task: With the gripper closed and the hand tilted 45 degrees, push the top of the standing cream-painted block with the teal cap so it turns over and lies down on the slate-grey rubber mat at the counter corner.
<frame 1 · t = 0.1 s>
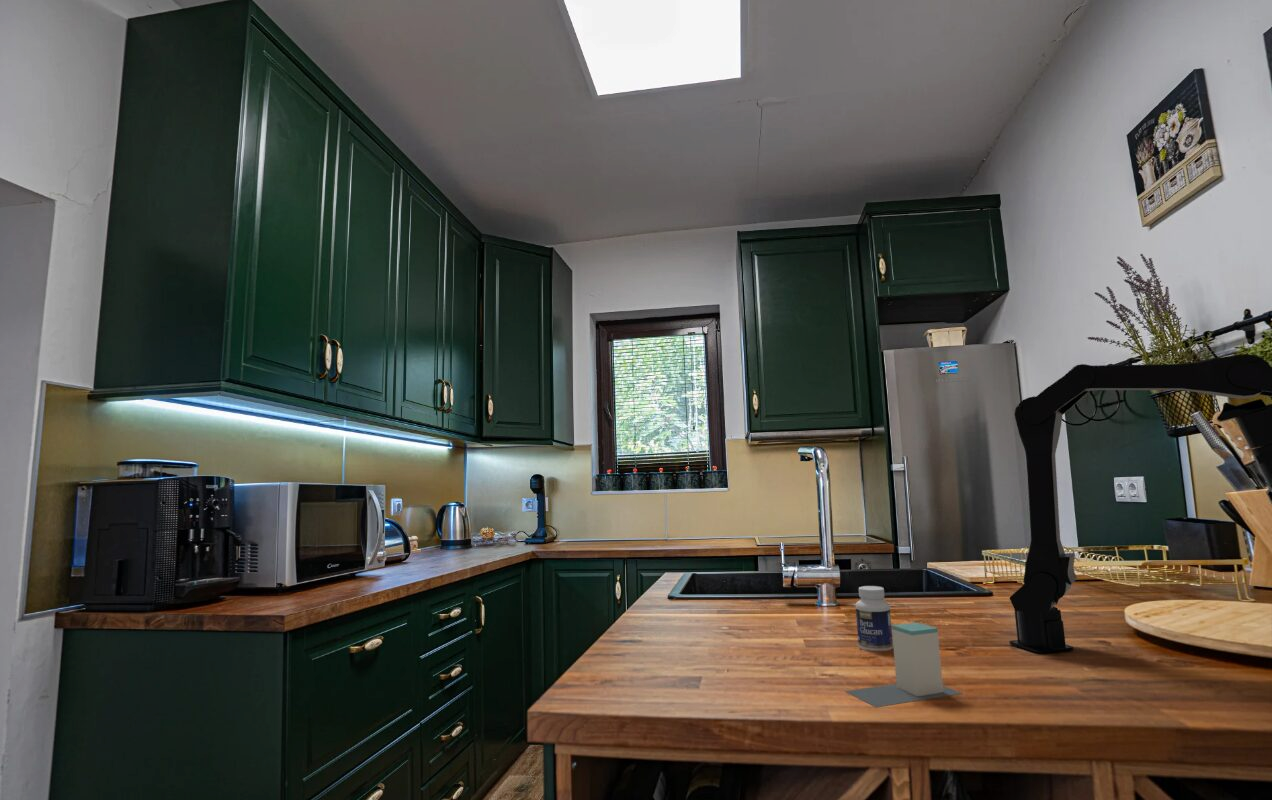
slate mat: (903, 694, 86), on the counter
pill bottle: (875, 649, 109), on the counter
cream block: (919, 689, 87), resting on slate mat
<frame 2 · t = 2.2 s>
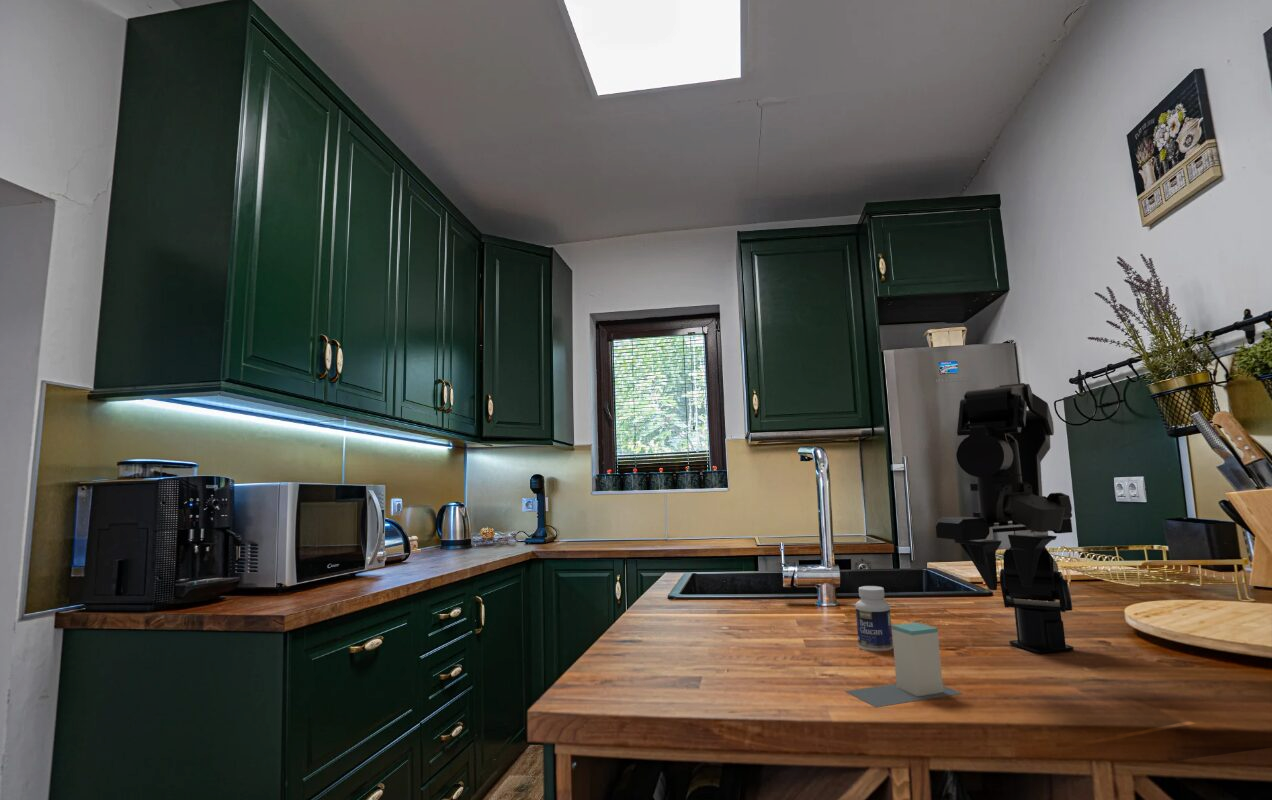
hand: (1010, 588, 93), 12 cm above the counter, tool pointing down, fingers open, 6 cm apart
nothing on the counter moved.
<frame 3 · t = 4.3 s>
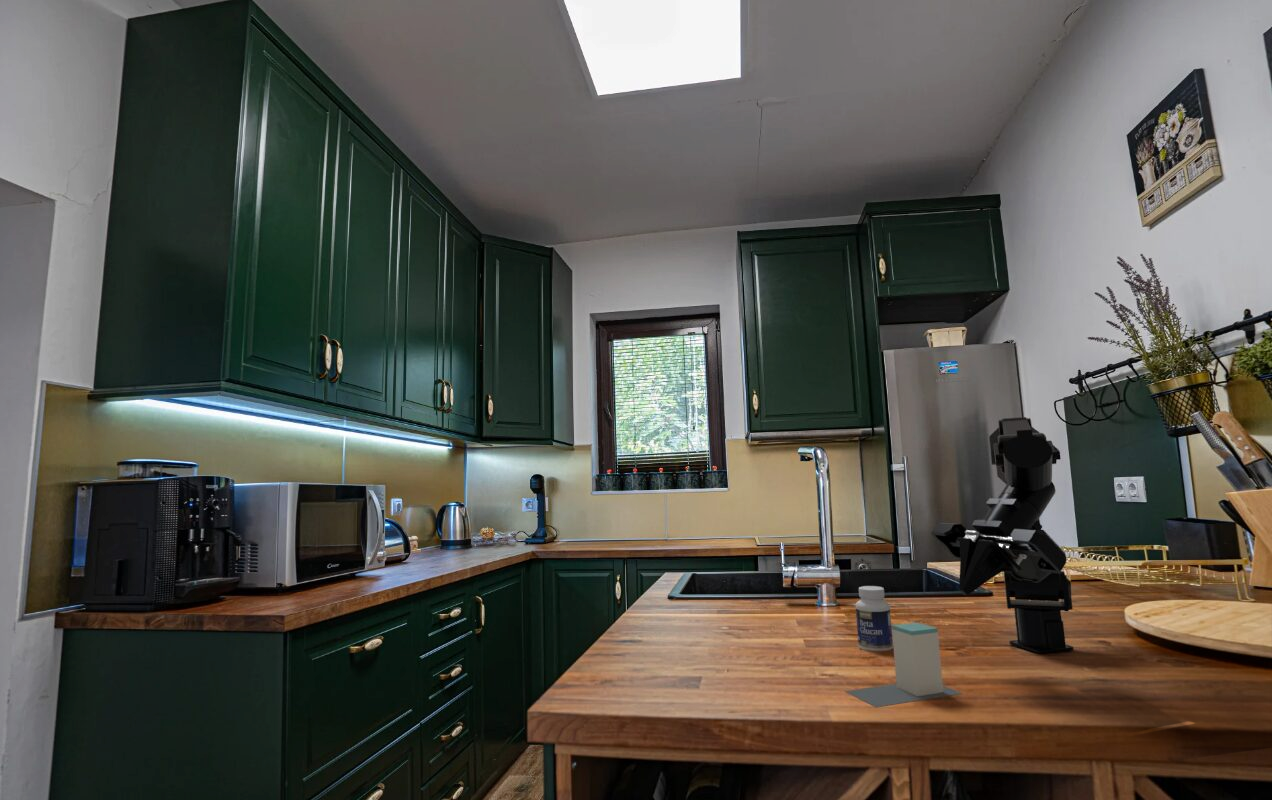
hand: (963, 592, 91), 12 cm above the counter, tool tilted 45°, fingers closed
nothing on the counter moved.
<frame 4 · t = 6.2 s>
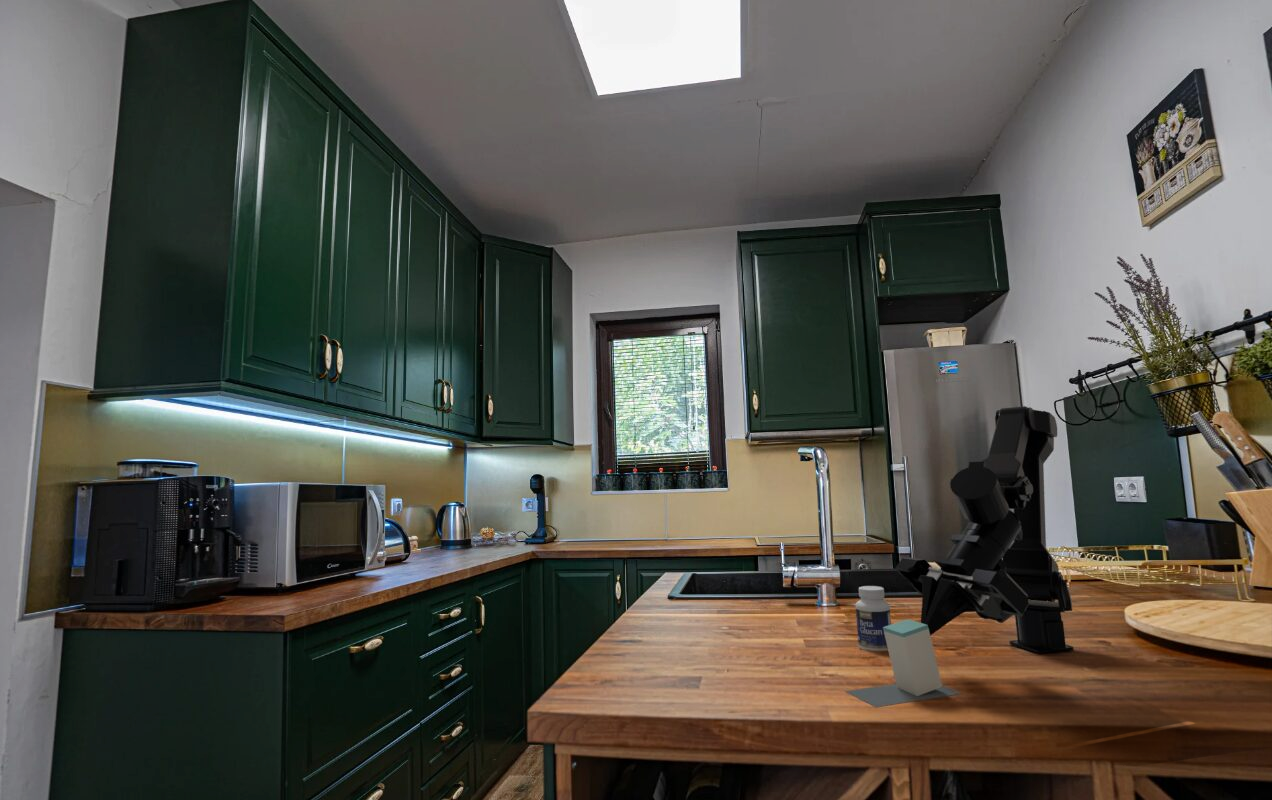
hand: (924, 633, 88), 7 cm above the counter, tool tilted 45°, fingers closed
cream block: (919, 686, 87), point 1 cm above the counter, tilted 10°, touching gripper, slate mat
everything else where it was.
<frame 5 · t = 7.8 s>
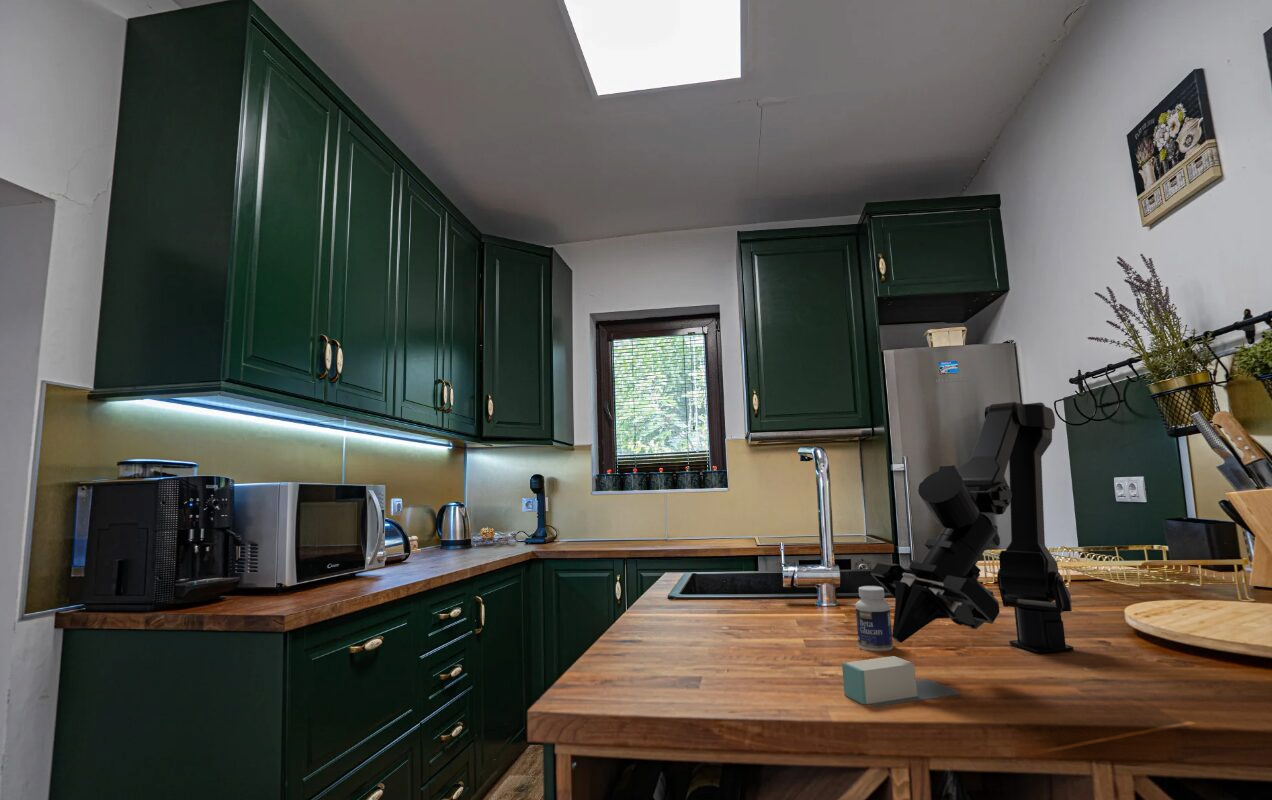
hand: (896, 640, 87), 7 cm above the counter, tool tilted 45°, fingers closed
cream block: (905, 675, 87), point 2 cm above the counter, tilted 90°, touching slate mat
everything else where it was.
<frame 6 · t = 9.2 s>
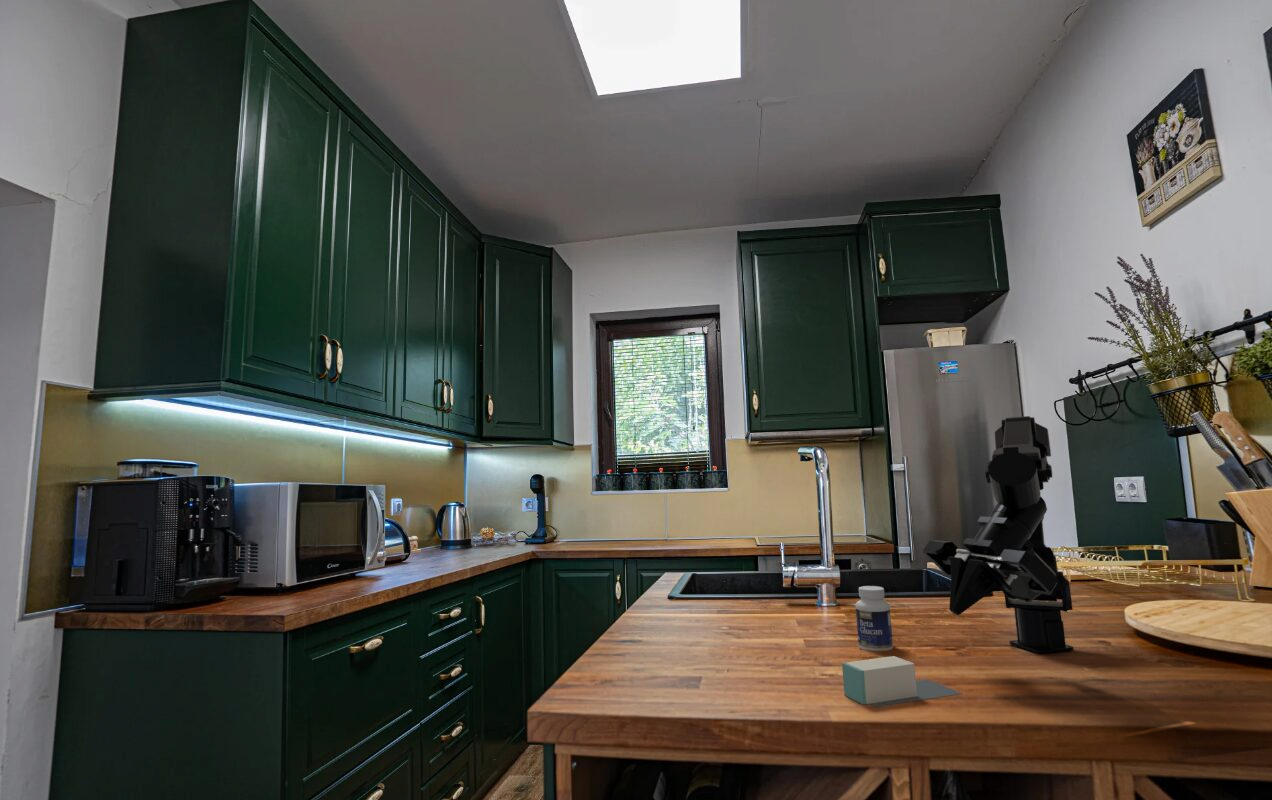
hand: (953, 612, 90), 9 cm above the counter, tool tilted 45°, fingers closed
nothing on the counter moved.
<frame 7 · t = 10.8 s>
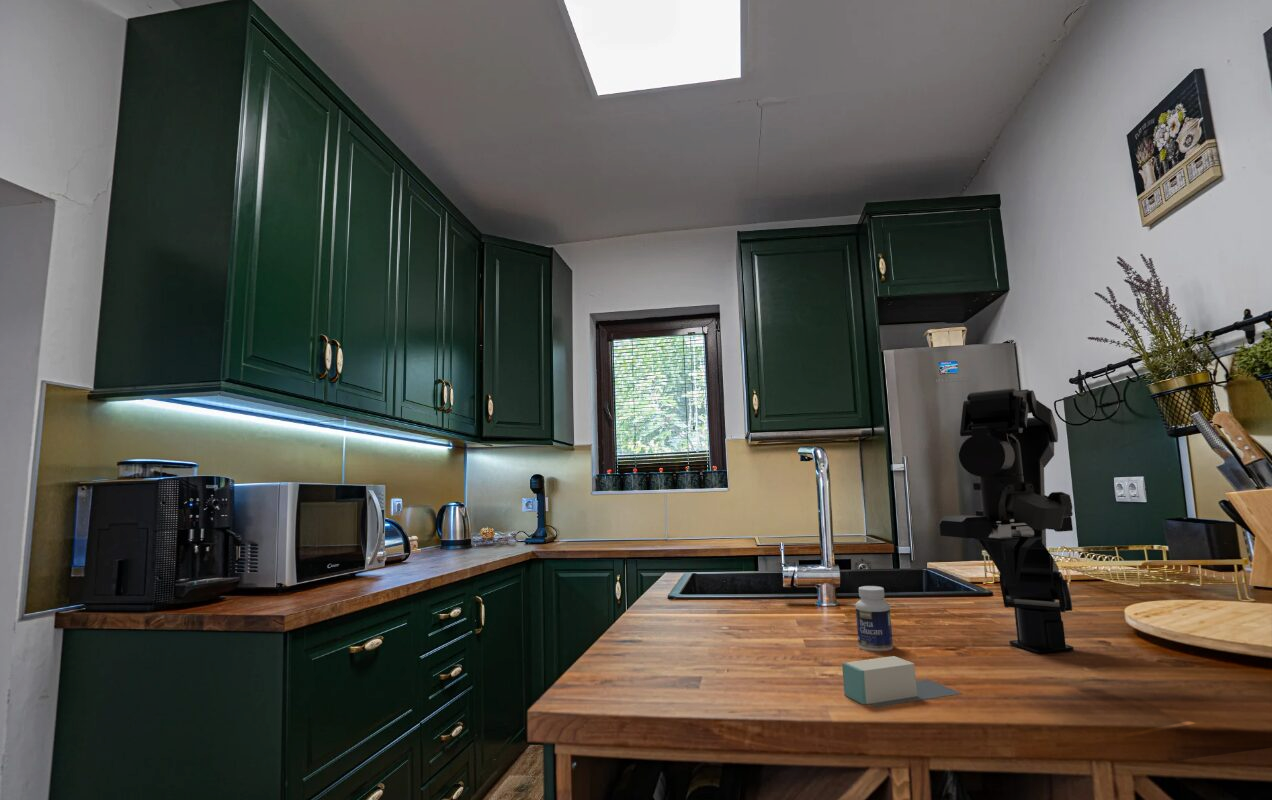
hand: (1012, 585, 95), 12 cm above the counter, tool pointing down, fingers closed
nothing on the counter moved.
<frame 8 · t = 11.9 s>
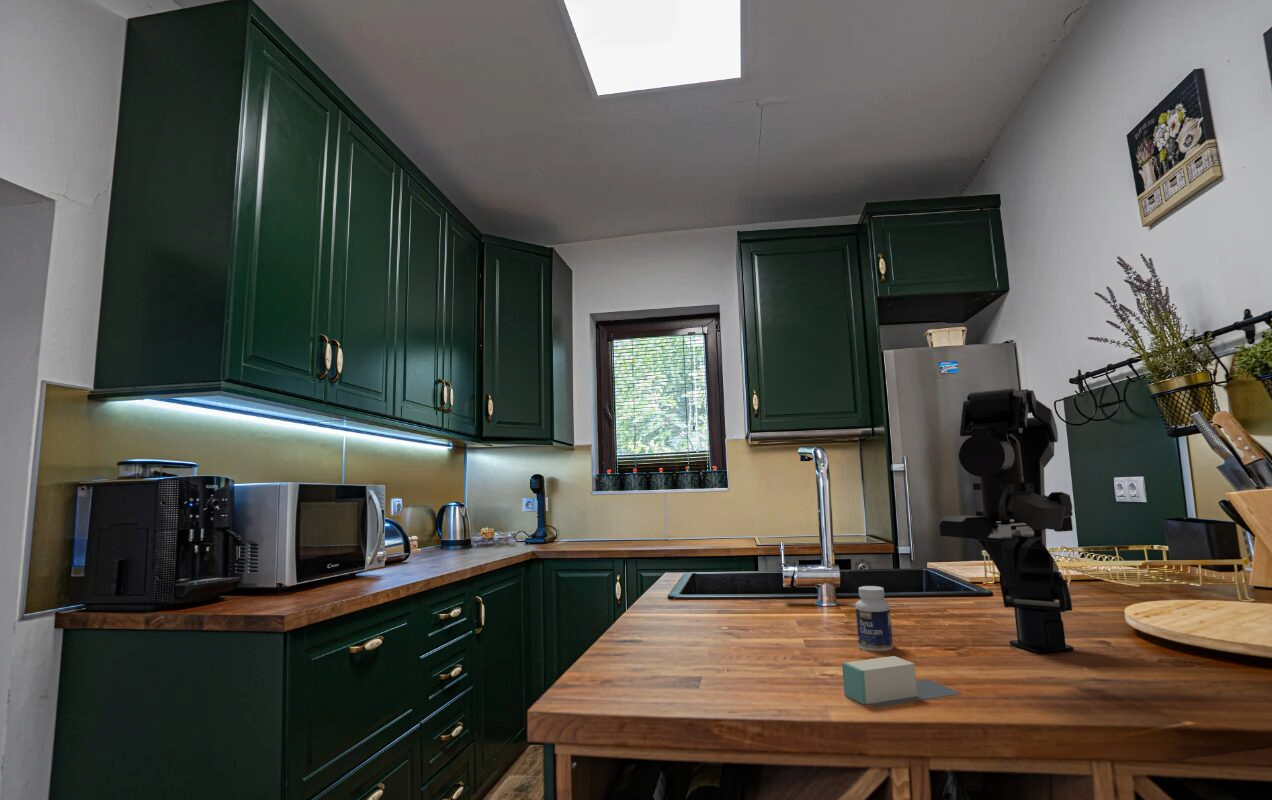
hand: (1011, 585, 95), 12 cm above the counter, tool pointing down, fingers closed
nothing on the counter moved.
at the end: cream block tilted 90°; cream block inside the target area (2.0 cm from its centre), point 2.3 cm above the counter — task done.
